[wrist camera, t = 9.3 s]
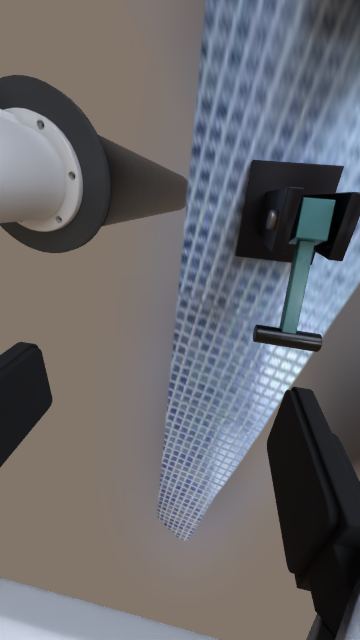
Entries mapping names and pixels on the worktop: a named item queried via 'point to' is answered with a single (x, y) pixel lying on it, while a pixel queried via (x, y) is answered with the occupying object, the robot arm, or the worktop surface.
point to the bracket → (293, 209)
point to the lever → (300, 276)
